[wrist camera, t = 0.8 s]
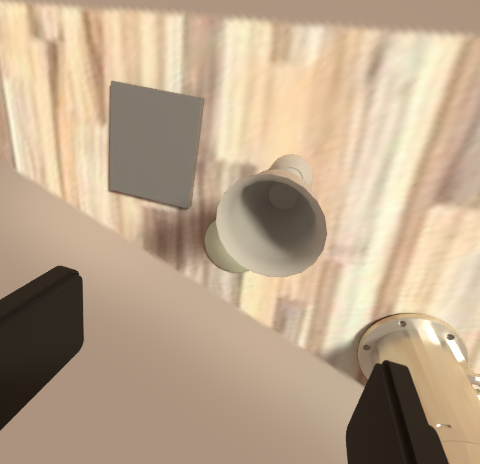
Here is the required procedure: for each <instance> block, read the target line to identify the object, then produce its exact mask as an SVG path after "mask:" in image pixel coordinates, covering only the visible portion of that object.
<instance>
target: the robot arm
mask: <svg viewBox="0 0 480 464" xmlns="http://www.w3.org/2000/svg"><path fill="white" fill-rule="evenodd" d="M82 286H83V284H82V278H81V276H79V273H78V271H76V270H74V269H70V268H67V267H64V266H57V267H55V268H53V269H51V270H50V271H48V272H46V273H45V274H43V275H41V276H40V277H38V278H36V279H35V280H33V281H31V282H29V283H28V284H26V285H25V286H23V287H21V288H19V289H18V290H16V291H14V292H13V293H11V294H9V295H8V296H6V297H4V298H2V299H1V300H0V430H1V429H2V428H3V427H4V426H5V425H6V424H7V423H8V422H9V421H10V420H11V419H12V418H13V417H14V416H15V415H16V414H17V413H18V412H19V411H20V410H21V409H22V408H23V407H24V406H25V405H26V404H27V403H28V402H29V401H30V400H31V399H32V398H33V397H34V396H35V395H36V394H37V393H38V392H39V391H40V390H41V389H42V388H43V387H44V386H45V385H46V384H47V383H48V382H49V381H50V380H51V379H52V378H53V377H54V376H55V375H56V374H57V373H58V372H59V371H60V370H61V369H62V368H63V367H64V366H65V365H66V364H67V363H68V362H69V361H70V360H71V359H72V358H73V357H74V356H75V355H76V354H77V353H78V352H79V350H80V349H81V347H82V345H83V341H84V334H83V333H84V331H83V287H82ZM468 360H469V357H468V351H467V348H466V346H465V344H464V342H463V340H462V339H461V337H460V336H459V334H458V333H457V332H456V331H455V330H454V329H453V328H452V327H451V326H449V325H448V324H446V323H445V322H443V321H441V320H439V319H437V318H434V317H431V316H427V315H422V314H413V313H412V314H399V315H394V316H390V317H387V318H385V319H382V320H380V321H379V322H377V323H375V324H374V325H372V326H371V327H370V328H369V329H368V330H367V331H366V332H365V333H364V335H363V336H362V338H361V340H360V342H359V346H358V361H359V366H360V368H361V371H362V373H363V374H364V376H365V377H366V379H367V380H368V381H367V384H366V386H365V388H364V391H363V393H362V395H361V397H360V399H359V402H358V404H357V406H356V408H355V411H354V413H353V415H352V417H351V420H350V422H349V424H348V427H347V431H346V447H347V459H348V464H480V390H478V389H474V388H473V386H472V384H475V385H478V386H480V374H476V373H474V372H473V371H472V370H471V369H470V367H469V365H468Z"/></svg>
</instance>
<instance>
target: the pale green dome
mask: <svg viewBox="0 0 480 464" xmlns="http://www.w3.org/2000/svg"><path fill="white" fill-rule="evenodd" d="M205 248H206V251H207V253H208V255H209V257H210V259H211V260H212V261H213V262H214V263H215V264H216V265H217V266H219V267H220V268H222V269H224V270H226V271H229V272H234V273H242V272H247V271H249V270H248V269H247V268H245V267H243V266H242V265H240V264H239V263H238V262H237V261H236V260H235V259H234V258H233V257H232V256H231V255H230V254H229V253H228V252H227V251H226V249H225V247H224V245H223V244H222V242H221V240H220V238H219V234H218V229H217V225H216V220H215V221H214V222H213V223H212V224H211V225H210V226H209V227H208V229H207V232H206V235H205Z"/></svg>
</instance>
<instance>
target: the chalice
mask: <svg viewBox="0 0 480 464" xmlns="http://www.w3.org/2000/svg"><path fill="white" fill-rule="evenodd" d="M313 178H314V177H313V170H312V167H311V165H310V164H309V163H308V161H307V160H306V159H304V158H302V157H301V156H298V155H293V154H291V155H285V156H283V157H280V158H279V159H278V160H276V161H275V162H274V163H273V165H272V167H271V169H270V170H266V171H263V172H261V173H259V174H256V175H251V176H249V177H246V178H244V179H241V180H239V181H237V182H235V183H234V184H233V185H232V186H231V187H230V188H229V189H228V190H227V191H226V192H225V193H224V195H223V197H222V199H221V201H220V203H219V205H218V207H217V218H216V225H217V229H218V234H219V238H220V240H221V242H222V244H223V245H224V247H225V249H226V251H227V252H228V253H229V254H230V255H231V256H232V257H233V258H234V259H235V260H236V261H237V262H238V263H239V264H240V265H242V266H243V267H245V268H247V269H248V270H250V271H252V272H254V273H257V274H261V275H264V276H267V277H288V276H291V275H294V274H298V273H301V272H303V271H304V270H305V269H307V268H308V267H310V266H311V265H313V264H314V263H315V261H316V260H317V258H318V257H319V256H320V254H321V253H322V251H323V249H324V245H325V240H326V236H327V230H326V222H325V216H324V214H323V212H322V210H321V208H320V206H319V204H318V202H317V199H316V197H315V195H314V193H313V191H312V189H311V185H312V182H313Z"/></svg>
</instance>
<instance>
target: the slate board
mask: <svg viewBox="0 0 480 464" xmlns="http://www.w3.org/2000/svg"><path fill="white" fill-rule="evenodd" d="M203 105H204V98H199V97H194V96H189V95H184V94H178V93H173V92H168V91H163V90H158V89H153V88H147V87H142V86H137V85H132V84H127V83H122V82H116V81H111V117H110V174H109V189H110V190H114V191H118V192H122V193H126V194H130V195H134V196H138V197H143V198H147V199H151V200H155V201H159V202H163V203H167V204H171V205H175V206H179V207H183V208H187V209H189V208H190V207H191V204H192V196H193V187H194V179H195V171H196V163H197V155H198V146H199V138H200V130H201V122H202V114H203Z"/></svg>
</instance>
